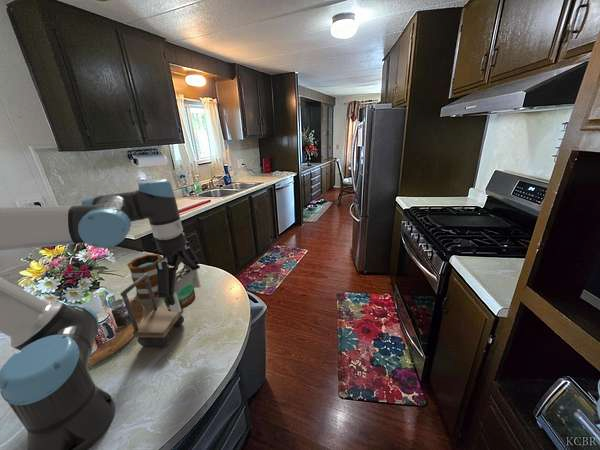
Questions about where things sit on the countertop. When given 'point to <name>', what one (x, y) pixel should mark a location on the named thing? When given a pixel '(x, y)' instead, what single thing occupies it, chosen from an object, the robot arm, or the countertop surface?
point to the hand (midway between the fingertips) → (187, 298)
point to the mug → (140, 268)
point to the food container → (183, 287)
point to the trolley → (152, 319)
